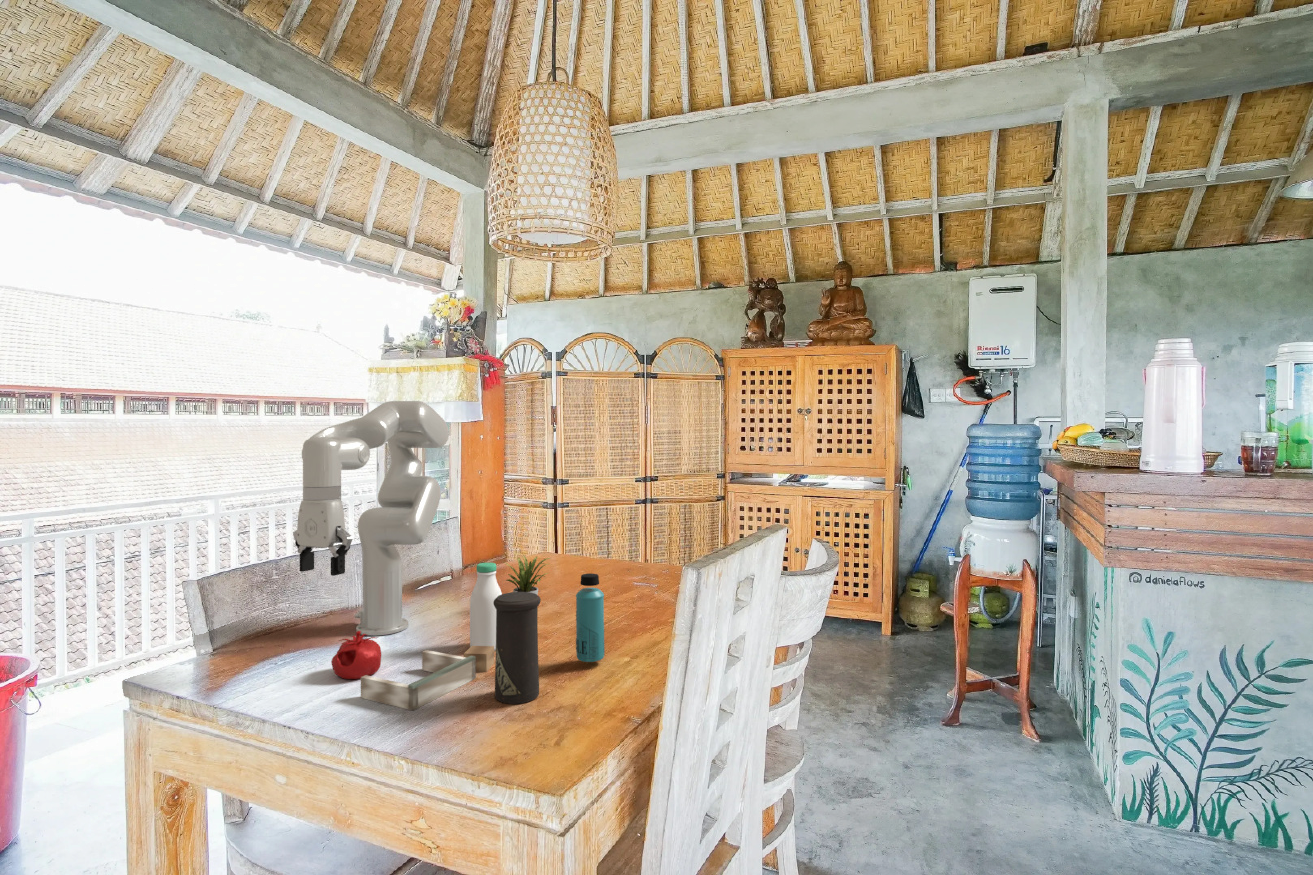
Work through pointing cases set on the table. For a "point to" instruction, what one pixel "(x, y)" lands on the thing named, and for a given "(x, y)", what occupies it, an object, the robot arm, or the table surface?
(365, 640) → the pomegranate
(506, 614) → the container
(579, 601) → the beverage bottle
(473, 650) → the teak block
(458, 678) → the display stand
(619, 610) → the table surface
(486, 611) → the milk bottle
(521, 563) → the house plant
